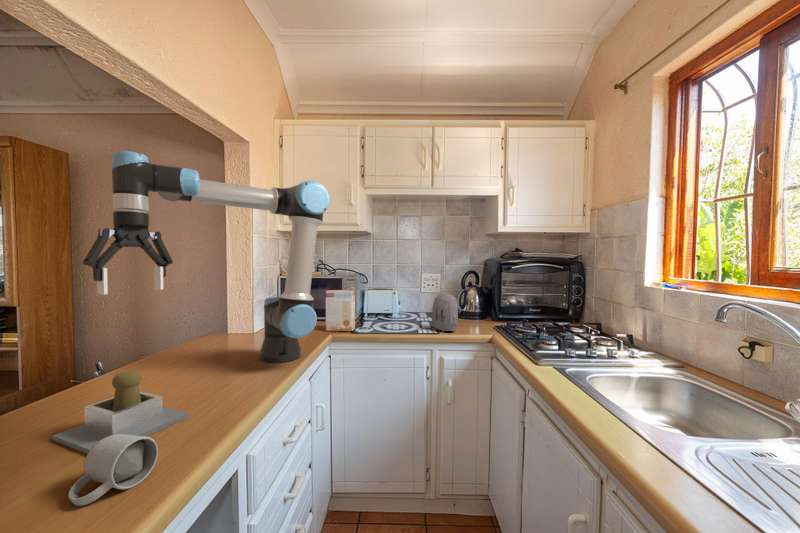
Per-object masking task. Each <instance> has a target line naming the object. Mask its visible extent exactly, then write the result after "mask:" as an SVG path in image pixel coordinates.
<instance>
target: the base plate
mask: <svg viewBox="0 0 800 533" xmlns="http://www.w3.org/2000/svg"><path fill="white" fill-rule="evenodd" d="M187 418H189V413H188V412H186V411H181V410H179V409H174V408H170V407H168V406H167V407H166V406H164V405H163V418H162V419H159V420H157V421H155V422H152V423H150V424H148V425H145V426H143V427H140V428H138V429H136V430H133V431H131V432H129V433H126V435H135V436H145V437H149V436H150V435H153V434H154V433H157V432H159V431H162V430H163V429H165V428H168V427H169V426H172V425H174V424H176V423H179V422H181V421H184V420H185V419H187ZM103 438H105V436H102V435H99V434H96V433H93V432H90V431H88V430H85V423H83V424H81V425H78V426H76V427H72V428H69V429H67V430H65V431H61V432H58V433H56V434H54V435H52V441H54V442H57V443H58V444H61V445H64V446H66V447H68V448H71V449H73V450H76V451H78V452H81V453H84V454H86V455H87V454H88V452H89V451H90V449H91V448H92V447H93V446H94V445H95V444H96V443H97V442H98V441H100V440H101V439H103Z"/></svg>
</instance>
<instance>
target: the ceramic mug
mask: <svg viewBox="0 0 800 533" xmlns="http://www.w3.org/2000/svg"><path fill="white" fill-rule="evenodd" d="M158 448H159V447H158V444H157V442H156V441H155V440H154V439H153V438H151V437H150V436H146V437H145V436H135V435H126V434H116V435H111V436H107V437H105V438H103V439H101V440H100V441H98V442H97V443H96V444H95V445H94V446H93V447H92V448H91V449H90V451H89V452H88V454H86V457H85V458H84V462H83V470H84V474H83V475H82V476H81V477H80V478H79V479H77V481H75V483H73V485H72V486H71V487H70V490H69V491H68V499H69V501H71V503H72V504H73V505H74V506H77V507H83V506H87V505H89V504H91V503H93V502H95V501H97V500H98V499H100V497H102V496H104V494H106V493H107V492H108V491H110V490H111V489H112V488H114V489H116V490H124V491H125V490H128V489H131V488H134V487H136V486H137V485H139V484H141V483H142V482H143V481H144V480H145V479H146V478H147V477H148V476H149V475H150V473H151V472H152V471H153V469H154V467H155V465H156V463H157V459H158V455H159V449H158ZM91 480H92V481H94V482H96V483H100V485H99V486H98V487H97V488H95V489H94V490H92V491H91V492H89V493H87V494H86V495H84V496H81V497H79V495H78V494H79V492H80V491H81V490H82V489H83V488H84V487H85V486H86V485H87V484H88V483H89V482H90V481H91Z"/></svg>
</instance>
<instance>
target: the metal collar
mask: <svg viewBox="0 0 800 533" xmlns="http://www.w3.org/2000/svg"><path fill="white" fill-rule="evenodd" d="M139 391H140V396H141V402H142V403H139V404H136V405H133V406H131V407H128V408H125V409H122V410H120V411H117V412H113V411H112V408H113V402H114V396H112V397H110V398H107V399H103V400H100V401H97V402H94V403H91V404H88V405H84V406H83V408H84V410H83V412H84V413H83V416H84V424H85V430H88V431H90V432H93V433H96V434H99V435H102V436H105V437H107V436H111V435H116V434H126V433H129V432H131V431H133V430H136V429H138V428H140V427H143V426H145V425H148V424H150V423H152V422H155V421H157V420H159V419H162V418H163V406H164V404H163V398H164V397H163V396H161V395H158V394H154V393H150V392H145V391H141V390H139Z"/></svg>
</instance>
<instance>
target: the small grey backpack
mask: <svg viewBox="0 0 800 533" xmlns="http://www.w3.org/2000/svg"><path fill="white" fill-rule="evenodd" d="M458 311H459V306H458V299H457V298H456V297H455V296H454V295H453V294H450V293H448V292H442V293H439V294H438V295H437V296H436V297H435V298H434V301H433V304H432V310H431V321H432V324H433V328H434V329H435V330H437V329H438V331H440V330H441V331H440V332H444V331H452V332H456V329H457V326H458V322H459V321H458V320H459V318H458V317H459V312H458Z"/></svg>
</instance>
